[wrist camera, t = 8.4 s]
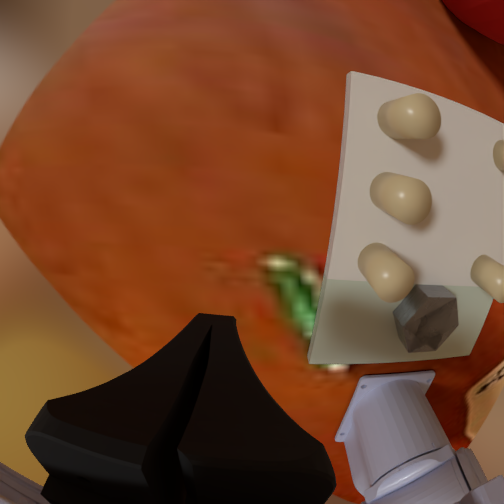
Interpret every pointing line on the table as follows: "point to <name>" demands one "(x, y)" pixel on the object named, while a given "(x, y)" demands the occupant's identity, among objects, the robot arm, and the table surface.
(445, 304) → the grey faceted polyhedron
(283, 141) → the table surface
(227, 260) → the table surface
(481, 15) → the ceramic cup
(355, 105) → the board
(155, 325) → the table surface
